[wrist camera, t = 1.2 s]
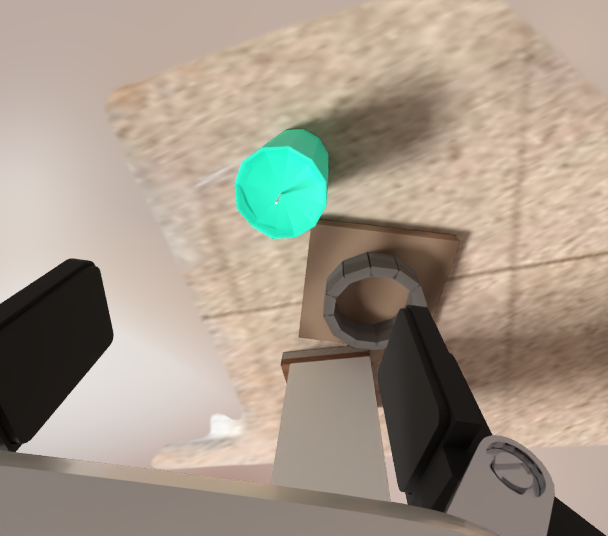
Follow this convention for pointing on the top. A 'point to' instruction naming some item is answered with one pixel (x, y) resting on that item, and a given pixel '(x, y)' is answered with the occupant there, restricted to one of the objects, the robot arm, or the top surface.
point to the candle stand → (370, 280)
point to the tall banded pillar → (330, 425)
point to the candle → (284, 184)
